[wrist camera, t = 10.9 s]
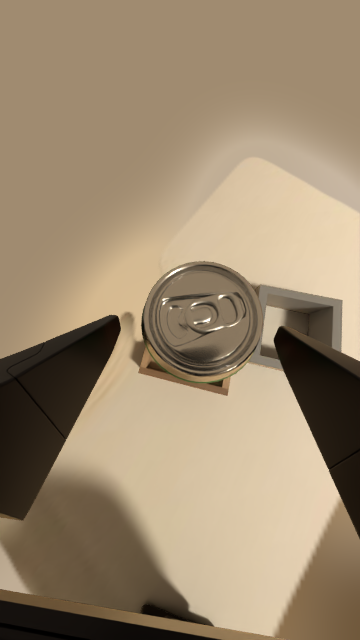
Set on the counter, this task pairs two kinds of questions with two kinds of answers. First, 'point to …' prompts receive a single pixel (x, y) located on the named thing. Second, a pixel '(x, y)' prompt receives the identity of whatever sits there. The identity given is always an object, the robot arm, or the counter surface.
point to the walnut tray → (155, 370)
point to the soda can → (202, 322)
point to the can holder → (321, 309)
